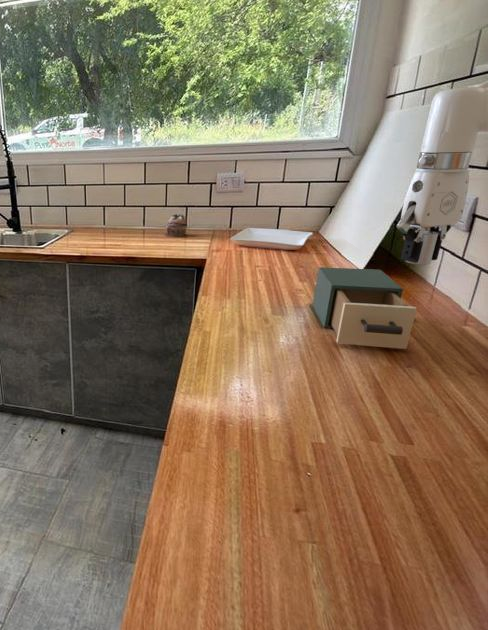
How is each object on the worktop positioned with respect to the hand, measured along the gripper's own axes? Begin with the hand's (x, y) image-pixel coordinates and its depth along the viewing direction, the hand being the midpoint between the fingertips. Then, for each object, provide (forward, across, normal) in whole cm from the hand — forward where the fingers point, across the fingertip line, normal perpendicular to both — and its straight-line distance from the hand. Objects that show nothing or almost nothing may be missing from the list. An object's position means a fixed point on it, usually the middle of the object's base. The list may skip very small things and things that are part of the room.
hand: (418, 258), depth 89 cm
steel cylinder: (+1, 0, 0) cm, 1 cm away
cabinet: (+18, +2, +14) cm, 23 cm away
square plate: (+19, +41, +90) cm, 101 cm away
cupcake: (+19, +14, +123) cm, 125 cm away
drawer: (+17, -6, +3) cm, 19 cm away
